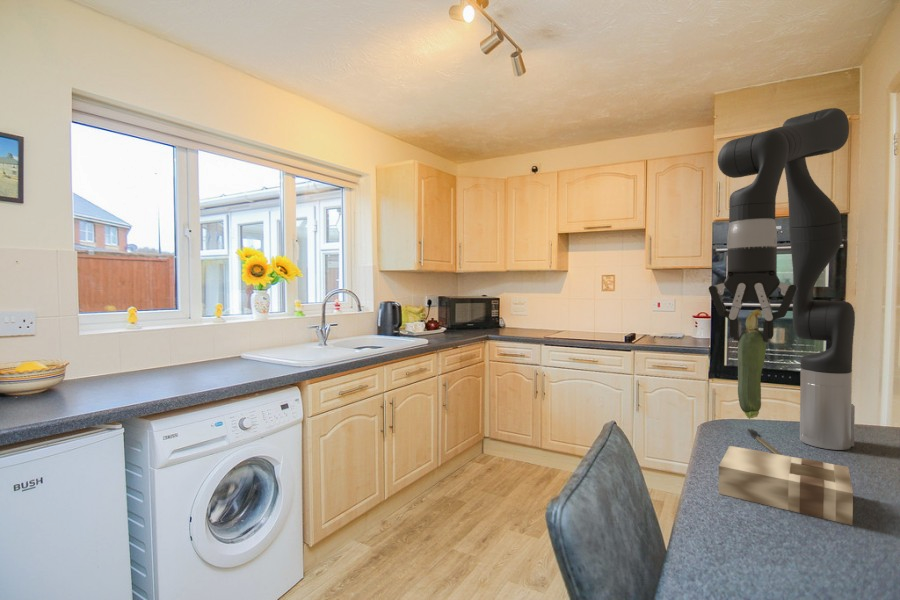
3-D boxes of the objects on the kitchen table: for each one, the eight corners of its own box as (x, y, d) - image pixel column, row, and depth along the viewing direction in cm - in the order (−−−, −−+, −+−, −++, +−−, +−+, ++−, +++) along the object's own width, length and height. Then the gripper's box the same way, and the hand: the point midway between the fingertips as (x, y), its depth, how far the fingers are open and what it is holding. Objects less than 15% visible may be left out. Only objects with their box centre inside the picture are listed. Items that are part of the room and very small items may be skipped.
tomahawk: (813, 471, 94) (814, 465, 94) (775, 465, 96) (776, 459, 96) (773, 436, 114) (774, 432, 114) (743, 432, 116) (743, 427, 116)
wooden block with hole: (718, 493, 82) (718, 465, 82) (729, 470, 92) (729, 445, 92) (852, 525, 71) (852, 492, 71) (847, 494, 81) (848, 466, 81)
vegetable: (731, 414, 86) (732, 308, 86) (753, 413, 87) (754, 307, 86) (748, 421, 82) (749, 309, 81) (771, 420, 82) (772, 309, 82)
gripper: (801, 245, 82) (800, 341, 82) (710, 249, 91) (710, 336, 91) (800, 242, 76) (799, 345, 77) (703, 247, 85) (703, 340, 85)
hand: (750, 340), depth 84 cm, fingers closed on vegetable, 4 cm apart
